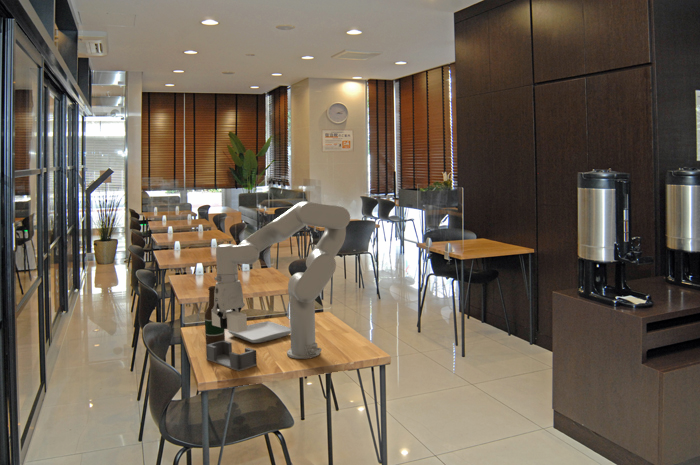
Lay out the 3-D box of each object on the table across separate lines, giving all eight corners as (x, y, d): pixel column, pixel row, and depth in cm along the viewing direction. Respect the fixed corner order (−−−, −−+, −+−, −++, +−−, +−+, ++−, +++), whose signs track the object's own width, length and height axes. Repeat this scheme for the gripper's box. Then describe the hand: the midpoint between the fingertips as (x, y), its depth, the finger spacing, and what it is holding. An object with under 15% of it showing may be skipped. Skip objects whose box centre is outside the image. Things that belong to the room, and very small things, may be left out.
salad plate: (226, 337, 240) (226, 329, 239) (268, 327, 254) (268, 320, 253) (253, 347, 224) (252, 339, 224) (295, 336, 238) (295, 329, 238)
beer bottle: (207, 347, 224) (204, 289, 221) (204, 342, 231) (201, 285, 228) (226, 345, 227) (224, 287, 224) (223, 340, 234) (220, 284, 231)
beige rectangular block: (246, 330, 200) (246, 314, 200) (237, 332, 198) (237, 316, 197) (221, 322, 211) (220, 307, 211) (212, 325, 208) (211, 309, 208)
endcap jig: (256, 365, 202) (256, 350, 201) (238, 371, 196) (238, 355, 196) (224, 354, 215) (223, 340, 215) (206, 359, 209) (205, 345, 209)
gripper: (213, 282, 194) (215, 333, 196) (252, 276, 206) (253, 324, 208) (201, 280, 199) (203, 330, 201) (240, 273, 211) (241, 320, 213)
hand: (229, 326), depth 204 cm, fingers closed on beige rectangular block, 4 cm apart
